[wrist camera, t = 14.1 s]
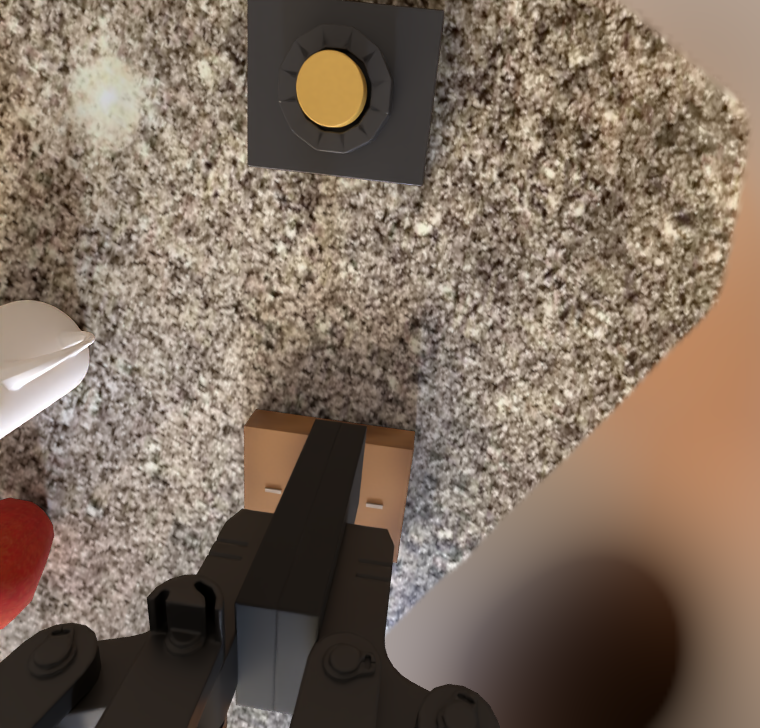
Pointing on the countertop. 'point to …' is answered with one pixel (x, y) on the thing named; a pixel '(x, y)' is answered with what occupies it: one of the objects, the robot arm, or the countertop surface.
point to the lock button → (331, 88)
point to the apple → (21, 554)
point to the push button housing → (383, 78)
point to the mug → (37, 359)
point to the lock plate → (282, 449)
